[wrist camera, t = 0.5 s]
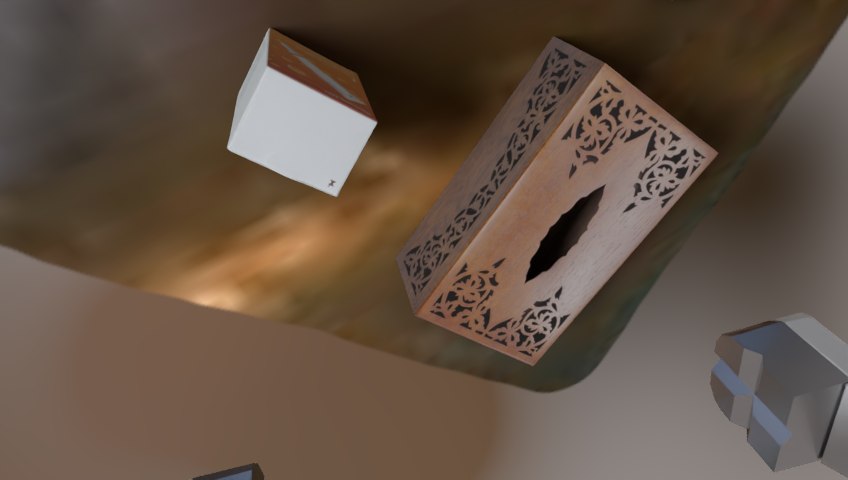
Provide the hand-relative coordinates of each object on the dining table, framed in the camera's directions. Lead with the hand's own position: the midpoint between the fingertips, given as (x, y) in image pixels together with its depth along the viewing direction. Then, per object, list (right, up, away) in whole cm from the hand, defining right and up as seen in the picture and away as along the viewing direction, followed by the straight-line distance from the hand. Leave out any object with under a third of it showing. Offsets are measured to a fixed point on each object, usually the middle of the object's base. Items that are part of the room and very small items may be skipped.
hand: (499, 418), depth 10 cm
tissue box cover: (+9, +9, +50) cm, 51 cm away
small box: (-12, +16, +40) cm, 45 cm away
